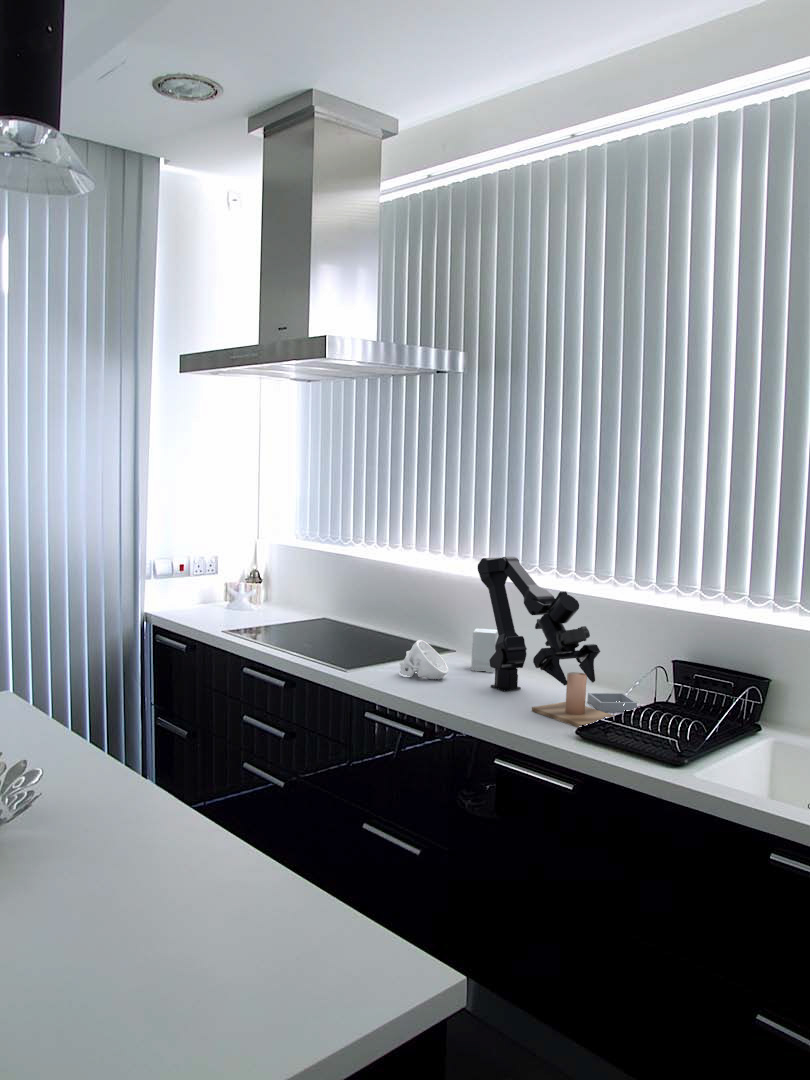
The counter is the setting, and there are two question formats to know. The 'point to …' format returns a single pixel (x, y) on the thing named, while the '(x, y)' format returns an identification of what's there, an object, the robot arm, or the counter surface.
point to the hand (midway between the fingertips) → (580, 683)
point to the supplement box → (483, 649)
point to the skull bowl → (423, 662)
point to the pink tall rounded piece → (576, 693)
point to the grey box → (611, 702)
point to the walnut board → (559, 714)
